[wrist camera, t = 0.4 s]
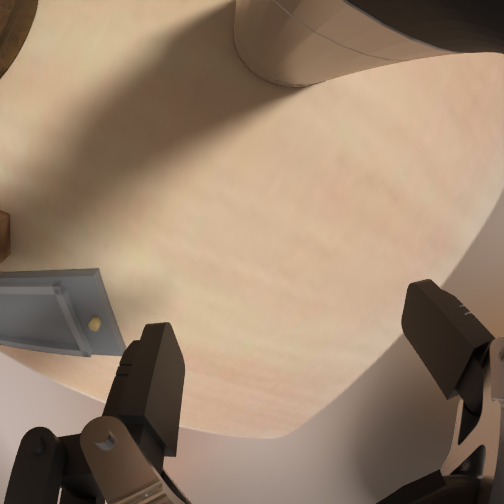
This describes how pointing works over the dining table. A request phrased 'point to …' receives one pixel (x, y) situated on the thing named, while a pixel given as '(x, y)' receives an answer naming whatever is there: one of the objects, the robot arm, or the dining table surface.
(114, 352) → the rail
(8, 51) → the wooden container
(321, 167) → the dining table surface
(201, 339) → the dining table surface
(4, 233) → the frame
